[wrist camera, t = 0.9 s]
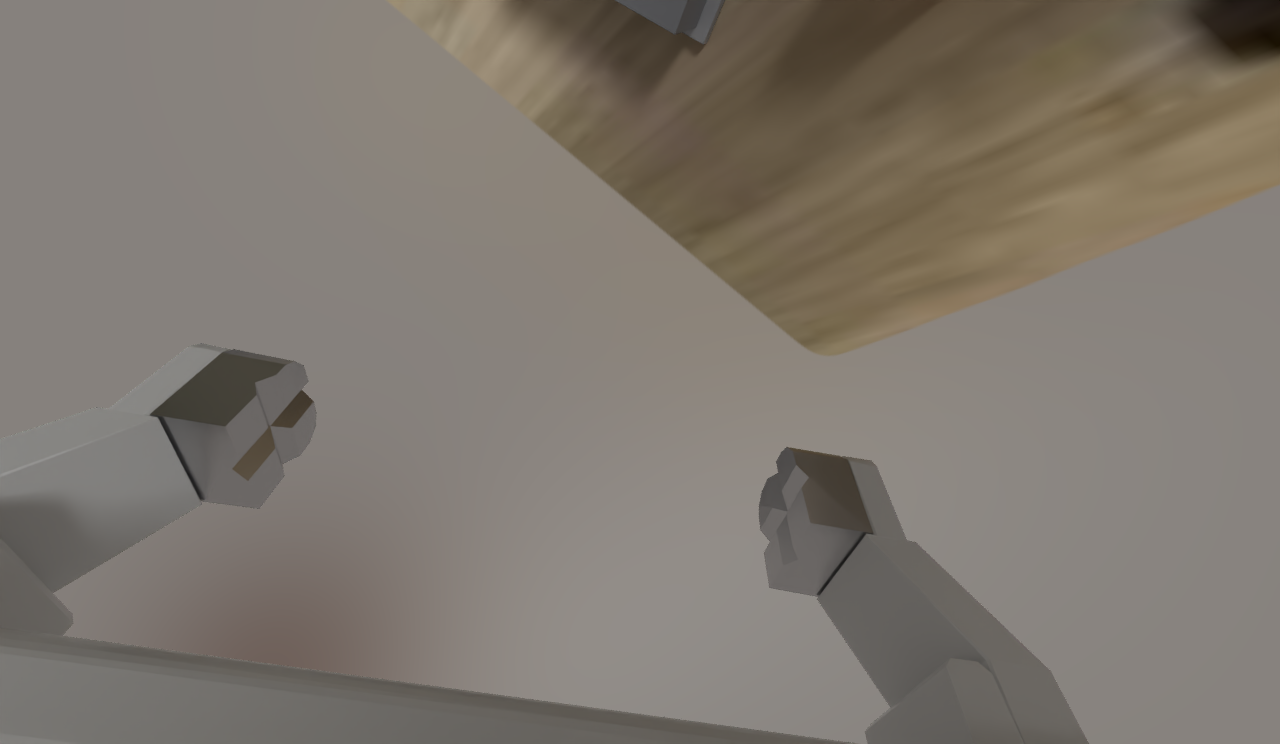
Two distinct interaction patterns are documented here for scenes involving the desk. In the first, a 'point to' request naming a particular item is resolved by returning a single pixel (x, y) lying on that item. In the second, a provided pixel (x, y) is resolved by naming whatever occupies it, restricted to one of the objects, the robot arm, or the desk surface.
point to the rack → (680, 15)
